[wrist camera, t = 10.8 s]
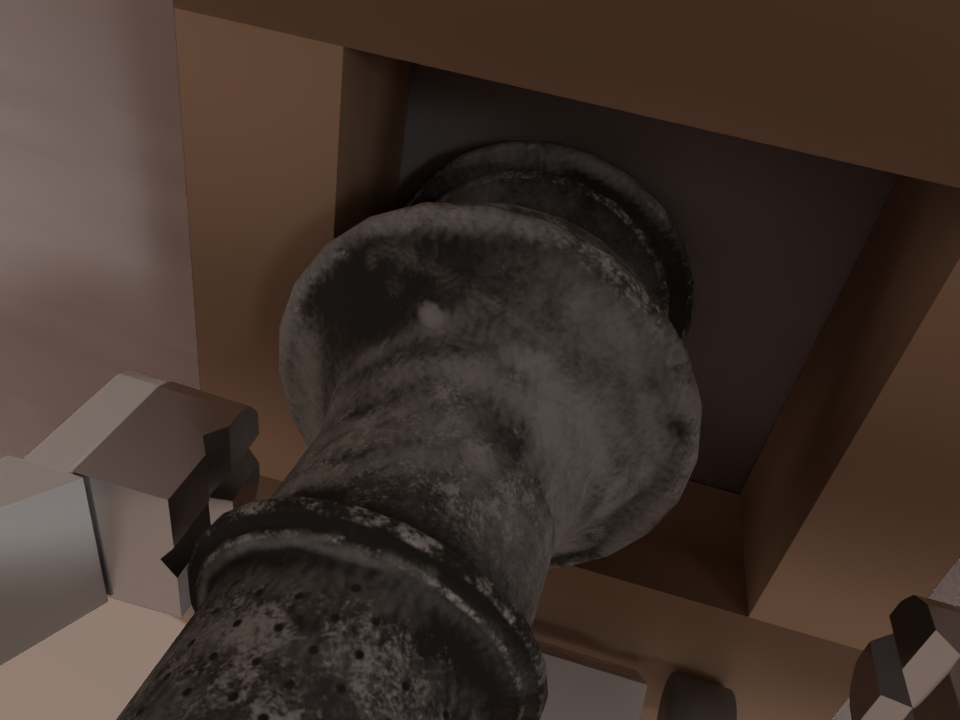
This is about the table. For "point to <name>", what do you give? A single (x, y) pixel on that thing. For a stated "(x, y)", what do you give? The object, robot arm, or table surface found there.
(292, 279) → the walnut holder
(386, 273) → the weathered chess piece
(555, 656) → the latch bar
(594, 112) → the table surface
